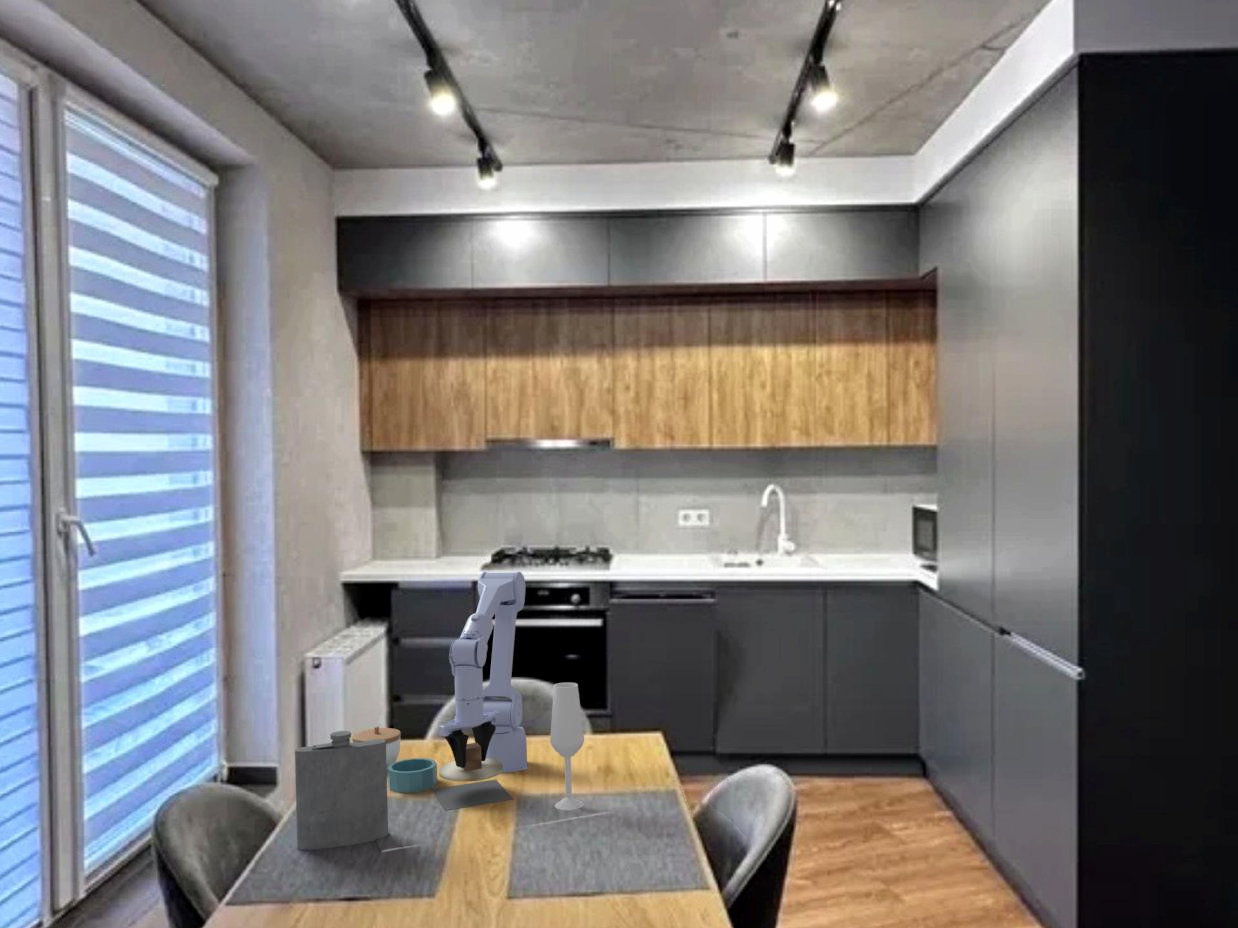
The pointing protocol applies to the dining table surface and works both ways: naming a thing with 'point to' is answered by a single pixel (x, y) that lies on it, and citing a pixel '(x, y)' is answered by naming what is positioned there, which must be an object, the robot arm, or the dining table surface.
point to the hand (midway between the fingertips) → (471, 763)
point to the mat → (471, 794)
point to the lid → (471, 767)
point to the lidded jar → (386, 734)
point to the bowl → (412, 775)
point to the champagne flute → (567, 734)
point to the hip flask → (341, 792)
